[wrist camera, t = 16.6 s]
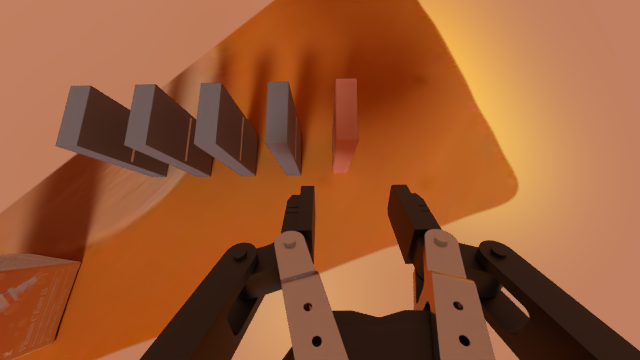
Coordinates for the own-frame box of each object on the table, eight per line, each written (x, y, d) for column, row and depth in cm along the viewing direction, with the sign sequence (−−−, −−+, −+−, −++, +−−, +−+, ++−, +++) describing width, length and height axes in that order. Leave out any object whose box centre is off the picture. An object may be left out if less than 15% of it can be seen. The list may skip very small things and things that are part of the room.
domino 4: (286, 175, 27) (264, 142, 17) (287, 134, 28) (267, 82, 18) (300, 175, 27) (286, 142, 17) (301, 134, 28) (288, 81, 18)
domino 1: (152, 176, 27) (55, 145, 17) (158, 136, 28) (70, 86, 18) (166, 176, 27) (76, 145, 17) (172, 136, 28) (90, 85, 18)
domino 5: (332, 173, 27) (336, 139, 17) (332, 132, 28) (335, 78, 18) (346, 173, 27) (358, 139, 17) (345, 132, 28) (356, 78, 18)
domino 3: (241, 175, 27) (193, 143, 17) (244, 135, 28) (201, 83, 18) (255, 175, 27) (215, 143, 17) (257, 135, 28) (221, 82, 18)
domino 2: (196, 176, 27) (123, 144, 17) (201, 135, 28) (135, 84, 18) (210, 176, 27) (145, 144, 17) (214, 135, 28) (155, 84, 18)
